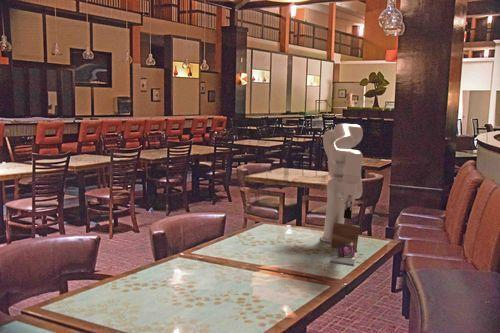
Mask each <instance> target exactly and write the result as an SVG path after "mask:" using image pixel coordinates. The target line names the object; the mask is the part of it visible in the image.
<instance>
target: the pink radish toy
mask: <svg viewBox="0 0 500 333" xmlns="http://www.w3.org/2000/svg"><path fill="white" fill-rule="evenodd" d="M343 244H345V245H346V246H350V245H351V249H352V251H351V250H350V251H349V248H348V247H344V248H343ZM336 250H337V257H343V258H350V259H352V258H355V257H356V256H355V251H354V247H353V242H349V243H337V249H336ZM350 252H351V256H345V255H348V254H349V253H350Z"/></svg>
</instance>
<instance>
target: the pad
mask: <svg viewBox="0 0 500 333" xmlns="http://www.w3.org/2000/svg"><path fill="white" fill-rule="evenodd" d="M330 263H332V264H340V265H345V266H346V265H347V266H352V267H353V266H355V259H354V258H343V257H338V256H334V255H331V257H330Z"/></svg>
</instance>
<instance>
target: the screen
mask: <svg viewBox="0 0 500 333" xmlns="http://www.w3.org/2000/svg"><path fill="white" fill-rule="evenodd" d="M359 231H360V225H355V224H347V223H344V224H340V223H334V225H333V234H332V243H331V244H330V249H333V250H334V249H335V250H338V249H337V243H349V242H353V247H354V252H357V249H358V243H359V242H358V241H359V233H360V232H359ZM344 247H348V248H349V252H352V249H351V245H350V246H346V245H345V244H343V248H344ZM350 250H351V251H350Z"/></svg>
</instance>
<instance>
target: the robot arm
mask: <svg viewBox="0 0 500 333" xmlns="http://www.w3.org/2000/svg"><path fill="white" fill-rule="evenodd" d="M363 130H364V129H363V128H362V126H361V125H359V124H354V123H353V124H351V123H338V124H336V125H335V126H334V127H333V129H329V130H326V131H324V134H323V136H322V141H323V142H322V145H323V148H324V151H325V154H326V157H327V166H328V175H329V177H330V179H329V180H328V181H327V184H326V194H327V195H326V196H327V197H326V208H325V209H326V211H325V217H324V227H323V234H322V235H320V237H319V239H320V240H321V241H323V242H325V243H332V234H333V225H334V223H340V224H345V220H351V219H352V213H353V206H354V204H355V200H356V199H357V200H358V199H360V198H361V197H362V195H363V181H362V167H363V158H364V156H363V153H362V152H361V150H357V149H352V148H355V147H356V146H357V145H358V144H360V142H361V141H362V139H363V136H364V131H363Z"/></svg>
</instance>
